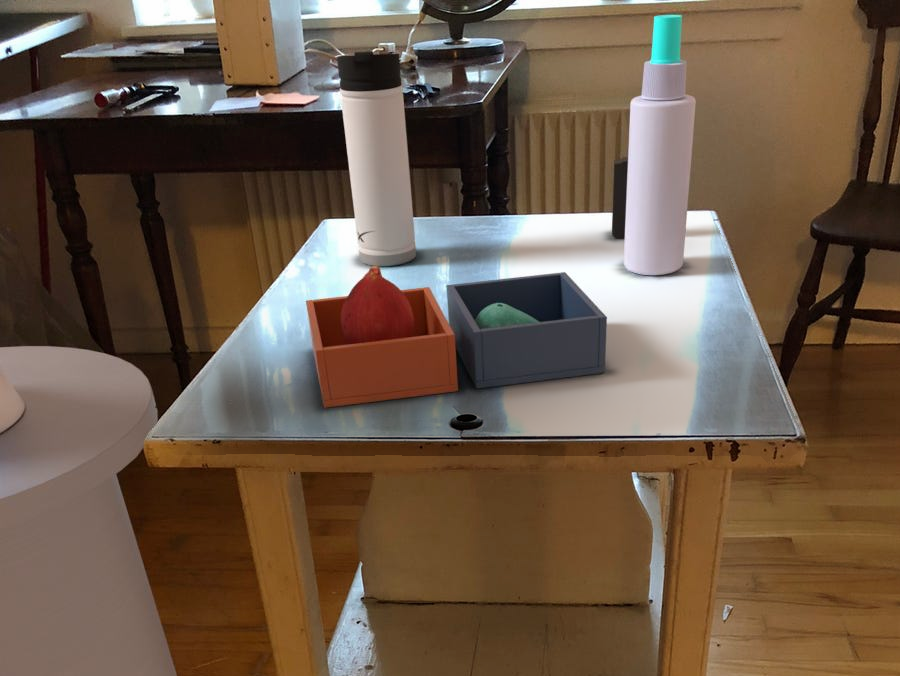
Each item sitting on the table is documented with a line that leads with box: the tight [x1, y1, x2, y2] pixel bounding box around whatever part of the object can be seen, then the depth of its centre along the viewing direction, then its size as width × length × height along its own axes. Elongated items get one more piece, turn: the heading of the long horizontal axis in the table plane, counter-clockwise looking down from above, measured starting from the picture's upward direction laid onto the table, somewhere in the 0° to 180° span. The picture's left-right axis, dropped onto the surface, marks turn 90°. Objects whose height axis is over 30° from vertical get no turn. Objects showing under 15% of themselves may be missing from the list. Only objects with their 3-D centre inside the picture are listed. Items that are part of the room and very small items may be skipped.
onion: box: [341, 266, 414, 344], centre depth 79 cm, size 6×6×8 cm
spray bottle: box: [623, 14, 697, 276], centre depth 94 cm, size 6×6×22 cm
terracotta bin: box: [305, 286, 459, 409], centre depth 80 cm, size 11×12×5 cm
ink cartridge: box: [611, 156, 628, 240], centre depth 108 cm, size 5×2×8 cm, turn 84°
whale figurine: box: [475, 303, 539, 329], centre depth 81 cm, size 6×7×4 cm
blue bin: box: [446, 271, 608, 389], centre depth 82 cm, size 11×12×5 cm
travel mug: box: [336, 50, 417, 267], centre depth 101 cm, size 6×7×20 cm
